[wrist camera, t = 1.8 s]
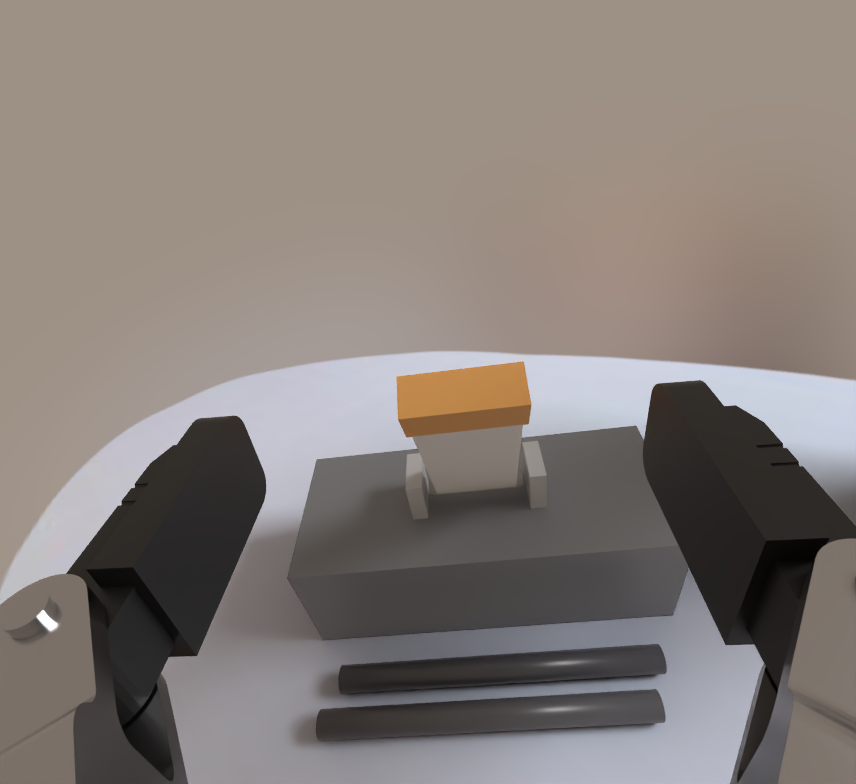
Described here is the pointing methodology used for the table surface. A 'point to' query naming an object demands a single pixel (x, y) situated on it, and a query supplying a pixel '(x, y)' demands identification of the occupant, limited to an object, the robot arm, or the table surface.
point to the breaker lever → (467, 425)
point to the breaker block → (489, 580)
